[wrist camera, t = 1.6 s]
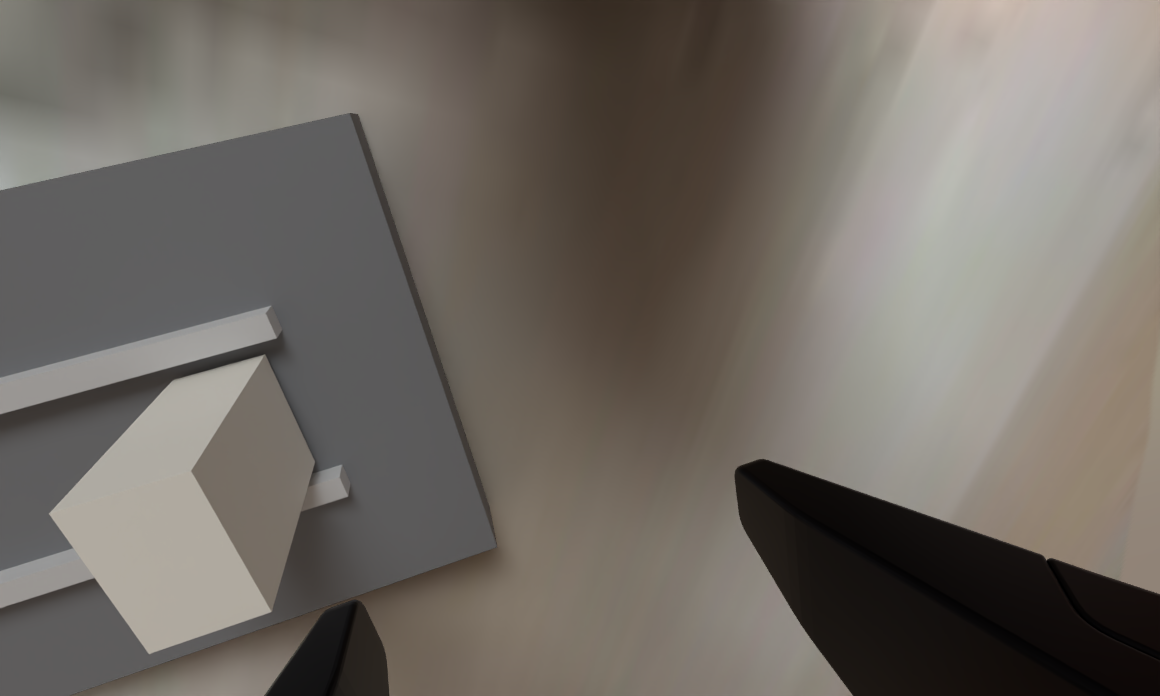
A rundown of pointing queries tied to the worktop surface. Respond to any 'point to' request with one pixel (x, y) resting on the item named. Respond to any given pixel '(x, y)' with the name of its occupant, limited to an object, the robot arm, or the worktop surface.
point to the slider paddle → (194, 505)
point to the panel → (210, 340)
